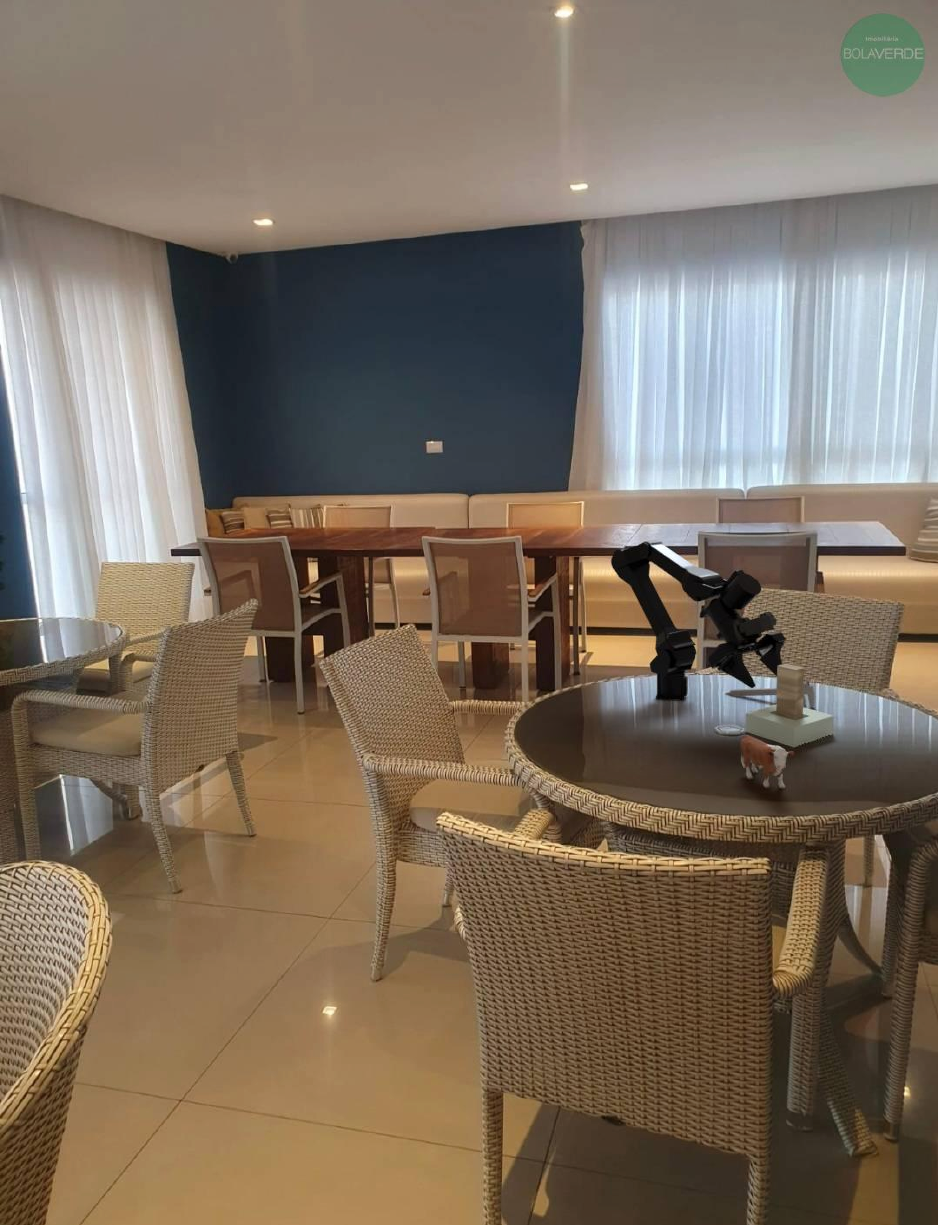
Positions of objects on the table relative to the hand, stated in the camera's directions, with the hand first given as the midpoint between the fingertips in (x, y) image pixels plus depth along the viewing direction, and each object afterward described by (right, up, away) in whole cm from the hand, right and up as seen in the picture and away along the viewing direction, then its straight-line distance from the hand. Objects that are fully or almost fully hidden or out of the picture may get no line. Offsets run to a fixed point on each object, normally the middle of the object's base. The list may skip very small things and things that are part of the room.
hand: (769, 683), depth 181 cm
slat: (+3, -9, -3) cm, 10 cm away
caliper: (+7, -6, +19) cm, 21 cm away
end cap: (+3, -10, -3) cm, 11 cm away
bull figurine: (-10, -16, -27) cm, 33 cm away
